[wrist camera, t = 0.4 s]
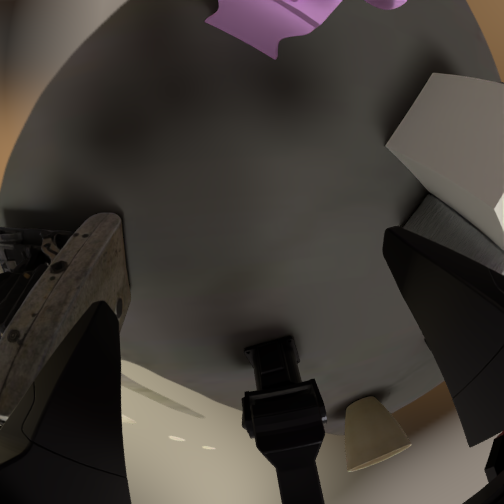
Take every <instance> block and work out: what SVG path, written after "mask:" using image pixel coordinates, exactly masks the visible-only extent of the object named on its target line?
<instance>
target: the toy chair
mask: <svg viewBox="0 0 504 504" xmlns="http://www.w3.org/2000/svg"><path fill="white" fill-rule="evenodd" d="M341 1H342V0H218V2H219V8H218V10H217V12H216V13H214V14H213V15H211V16H209V17H208V18H206V20H205V21H204V22H206V23H208V24H210V25H212V26H214V27H216V28H218V29H220V30H222V31H224V32H226V33H228V34H230V35H232V36H234V37H236V38H238V39H240V40H242V41H244V42H245V43H247V44H249V45H251V46H252V47H254V48H256V49H258V50H259V51H261V52H263V53H264V54H266V55H268V56H269V57H271V58H273V59H274V60H276V59H277V57H278V44H279V41H280V40H281V39H283V38H287V37H292V36H301V35H306V34H308V33H310V32H311V31H313V30H314V29H315V28H316V27H318V26H320V25H321V24H322V23H323V22H324V21H325V19H326V18H327V17H328V16H329V15H330V14H331V13H332V11H333V10H334V9H335V8H336V7H337V6H338V5H339V3H340V2H341ZM364 1H366V2H367V3H369V4H371V5H373V6H375V7H377V8H380V9H384V10H390V9H394V8H397V7H399V6H401V5H403V4H404V3H405V2H406V1H407V0H364Z"/></svg>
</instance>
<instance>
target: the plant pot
mask: <svg viewBox="0 0 504 504" xmlns="http://www.w3.org/2000/svg"><path fill="white" fill-rule="evenodd" d="M411 445H412V444H411V442H410V441H409V439H408V437H407V436H406V434H405V432H404V431H403V430H402V428H401V427H400V425H399V424H398V422H397V421H396V420H395V419H394V417H393V416H392V415H391V414H390V413H389V411H388V410H387V409H386V408H385V407H384V406H383V405H382V404H381V403H380V402H379V401H378V400H377V399H376V398H375V397H373V396H370V397H365V398H362V399H360V400H358V401H356V402H354V403H352V404H351V405H349V406H348V407H347V409H346V417H345V452H346V461H347V470H348V472H352V471H356V470H359V469H362V468H365V467H368V466H371V465H373V464H376V463H378V462H381V461H383V460H385V459H388V458H390V457H392V456H394V455H395V454H398V453H399V452H401V451H403V450H405V449H407V448H408V447H410V446H411Z"/></svg>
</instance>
